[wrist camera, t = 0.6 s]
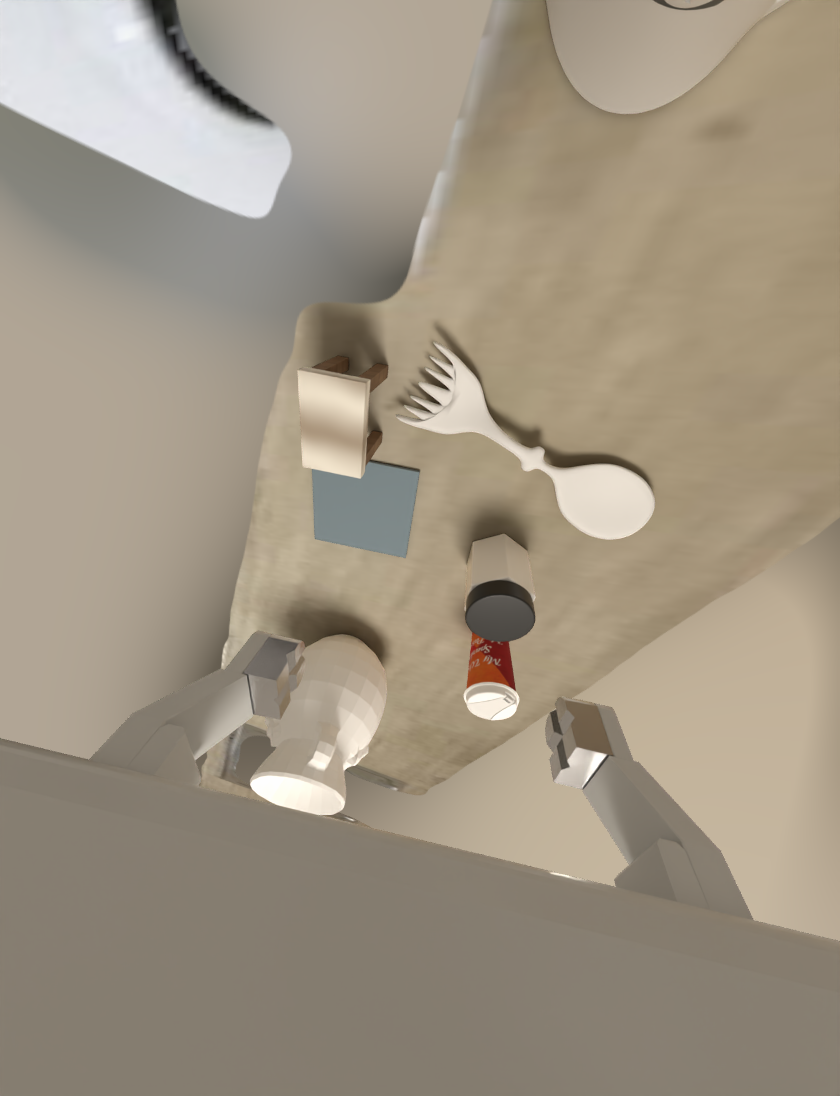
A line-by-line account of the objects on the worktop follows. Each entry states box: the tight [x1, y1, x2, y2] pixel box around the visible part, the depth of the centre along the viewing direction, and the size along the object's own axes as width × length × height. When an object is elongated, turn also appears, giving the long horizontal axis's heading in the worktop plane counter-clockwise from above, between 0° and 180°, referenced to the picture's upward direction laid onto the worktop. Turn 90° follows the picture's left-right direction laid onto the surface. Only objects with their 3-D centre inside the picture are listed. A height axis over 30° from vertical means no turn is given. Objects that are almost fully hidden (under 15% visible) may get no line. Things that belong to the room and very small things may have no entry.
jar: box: [464, 534, 536, 642], centre depth 46 cm, size 9×8×12 cm
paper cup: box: [464, 633, 519, 720], centre depth 54 cm, size 8×8×14 cm
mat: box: [312, 461, 420, 558], centre depth 49 cm, size 14×14×1 cm
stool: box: [297, 356, 388, 479], centre depth 37 cm, size 9×6×10 cm, turn 172°
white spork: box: [396, 342, 655, 540], centre depth 40 cm, size 9×32×4 cm, turn 61°
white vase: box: [250, 634, 387, 815], centre depth 59 cm, size 19×18×25 cm
